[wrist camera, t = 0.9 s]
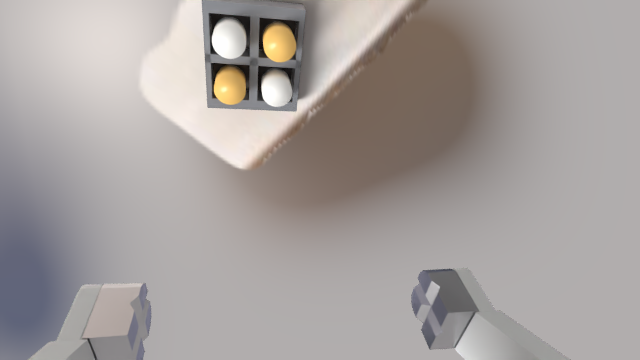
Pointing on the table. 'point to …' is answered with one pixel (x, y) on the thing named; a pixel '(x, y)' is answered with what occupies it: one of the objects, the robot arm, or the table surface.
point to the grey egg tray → (253, 49)
